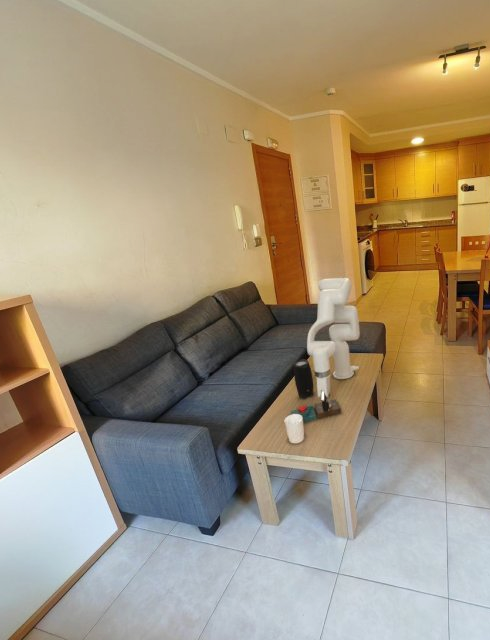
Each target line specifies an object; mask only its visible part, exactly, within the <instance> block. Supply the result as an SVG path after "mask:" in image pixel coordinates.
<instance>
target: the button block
mask: <svg viewBox="0 0 490 640" xmlns="http://www.w3.org/2000/svg"><path fill="white" fill-rule="evenodd" d="M305 406H306V405H305ZM292 414H300V415H301V416H302V417H303V424H304V423H308V422H312V421H315V420H317V413H316V410H315V407H314V406H313V405H310V406H306V411H305V412H303V413H301V412H299V407H297V408H296V409H293V410H290V415H292Z"/></svg>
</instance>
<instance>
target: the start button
mask: <svg viewBox="0 0 490 640" xmlns="http://www.w3.org/2000/svg"><path fill="white" fill-rule="evenodd" d="M298 408H299V412H301V413H303V412H305V411H306V405H299V407H298Z"/></svg>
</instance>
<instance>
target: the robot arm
mask: <svg viewBox="0 0 490 640" xmlns="http://www.w3.org/2000/svg"><path fill="white" fill-rule="evenodd" d="M317 286H318V290H319V292H318V294H317V316H316V317H317V318H316V321H315V322H314V323H313V324H312V325H311V327H310V328H309V330H308V333H307V337H306V352H307V355H308V356H310V357H312V364H313V371H314V377H315V378H316V391H317V398H321V402H322V407H323V409H329V401H328V396H330V397H331V379H330V376H331V375H332V377H333V378H334V379H336V380H347V379H350V378H352V377H353V376H354V374H355V371H358V370H359V369H360V367H359V366H358V365H357V366H356V365H351V356H350V347H349V344H348V343H347V341H351V342H352V341H357V340H359V338H360V336H361V332H360V331H361V330H360V321H359V313H358V312H359V311H358V309H357V306H355V305H346V304H347V303H348V299H349V296H350V295H351V290H352V282H351V280H350V278H348V277H332V278H331V277H329V278H322V279H320V280H319V281H318V285H317ZM332 323H333V324H332ZM331 324H332V325H331ZM329 325H330V327H328V335H329V339H330V340H315V339H316V338H315V337H316V335H317V333H318V332H319V330H321V329H323V328H325V327H327V326H329ZM331 358H333V366H334V371H333V372H331V364H330V359H331ZM325 398H326V399H325Z"/></svg>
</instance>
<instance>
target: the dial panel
mask: <svg viewBox="0 0 490 640" xmlns="http://www.w3.org/2000/svg"><path fill="white" fill-rule="evenodd" d="M313 405H314V411H315V414H316V417H317V418H318V420H321V419H323V418H324V419H325V418H328V417H332V416H336V415H341V414H342V413H341V411H342V410H341V407H340V405H339V403H338V401H337V399H336V398H335V399H331V407H330V408H329V409H323V407H322V401H321V402H318V403H317V402H316V403H313Z"/></svg>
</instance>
